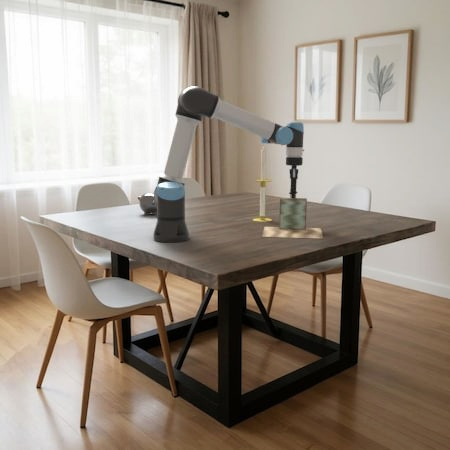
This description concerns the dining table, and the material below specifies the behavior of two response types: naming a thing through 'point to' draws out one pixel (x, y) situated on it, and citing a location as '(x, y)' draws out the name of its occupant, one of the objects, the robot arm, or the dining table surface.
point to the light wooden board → (292, 233)
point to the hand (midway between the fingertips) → (292, 207)
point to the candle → (262, 188)
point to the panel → (293, 213)
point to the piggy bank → (148, 203)
